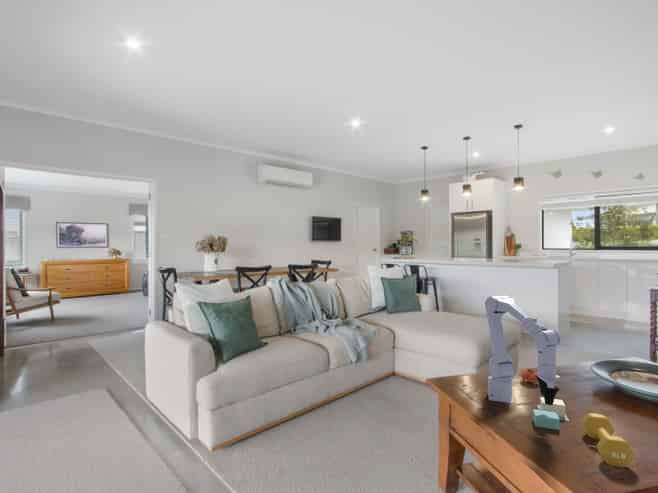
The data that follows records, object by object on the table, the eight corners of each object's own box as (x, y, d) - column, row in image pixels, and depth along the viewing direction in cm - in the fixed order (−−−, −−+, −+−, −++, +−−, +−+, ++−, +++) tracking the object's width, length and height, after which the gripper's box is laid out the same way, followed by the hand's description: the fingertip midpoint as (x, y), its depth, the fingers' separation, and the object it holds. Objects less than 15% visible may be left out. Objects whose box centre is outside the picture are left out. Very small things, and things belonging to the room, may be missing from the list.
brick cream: (542, 413, 134) (542, 402, 134) (540, 407, 139) (540, 396, 139) (565, 417, 131) (565, 405, 131) (562, 411, 136) (562, 400, 136)
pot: (525, 377, 170) (528, 364, 168) (541, 386, 163) (545, 373, 162) (515, 380, 166) (519, 367, 164) (531, 389, 159) (535, 376, 158)
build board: (541, 417, 132) (541, 416, 132) (536, 405, 141) (536, 404, 141) (569, 422, 128) (569, 420, 128) (562, 409, 138) (562, 408, 138)
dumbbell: (637, 472, 101) (637, 445, 101) (599, 465, 104) (599, 438, 104) (611, 437, 118) (611, 414, 118) (579, 432, 122) (579, 409, 122)
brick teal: (535, 427, 125) (535, 415, 125) (532, 421, 130) (532, 409, 130) (559, 431, 123) (559, 419, 122) (556, 424, 127) (556, 412, 127)
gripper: (564, 371, 118) (564, 410, 118) (555, 358, 131) (555, 393, 131) (540, 368, 121) (540, 407, 121) (533, 355, 134) (533, 390, 134)
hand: (546, 399), depth 126 cm, fingers open, 7 cm apart
